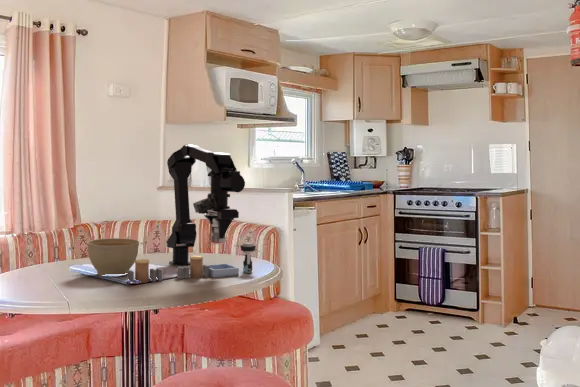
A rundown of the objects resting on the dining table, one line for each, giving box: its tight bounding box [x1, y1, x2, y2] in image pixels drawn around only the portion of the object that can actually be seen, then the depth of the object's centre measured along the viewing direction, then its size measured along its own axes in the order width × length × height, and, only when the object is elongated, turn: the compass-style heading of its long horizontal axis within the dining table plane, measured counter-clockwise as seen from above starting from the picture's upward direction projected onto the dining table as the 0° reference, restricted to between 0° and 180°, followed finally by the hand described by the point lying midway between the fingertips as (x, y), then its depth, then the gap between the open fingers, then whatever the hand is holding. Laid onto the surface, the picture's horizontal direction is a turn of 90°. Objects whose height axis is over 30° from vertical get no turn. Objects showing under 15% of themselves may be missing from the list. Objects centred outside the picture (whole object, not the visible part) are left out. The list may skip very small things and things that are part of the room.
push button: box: [239, 241, 257, 274], centre depth 197 cm, size 7×5×10 cm
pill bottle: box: [210, 218, 226, 245], centre depth 191 cm, size 5×5×8 cm
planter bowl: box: [86, 237, 140, 277], centre depth 186 cm, size 16×16×11 cm
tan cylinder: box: [189, 255, 204, 279], centre depth 187 cm, size 4×4×7 cm
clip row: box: [127, 264, 210, 282], centre depth 182 cm, size 3×26×4 cm, turn 122°
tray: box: [202, 263, 240, 279], centre depth 192 cm, size 9×9×2 cm
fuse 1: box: [134, 258, 150, 284], centre depth 177 cm, size 4×4×7 cm
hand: (218, 237), depth 191 cm, fingers closed on pill bottle, 5 cm apart
